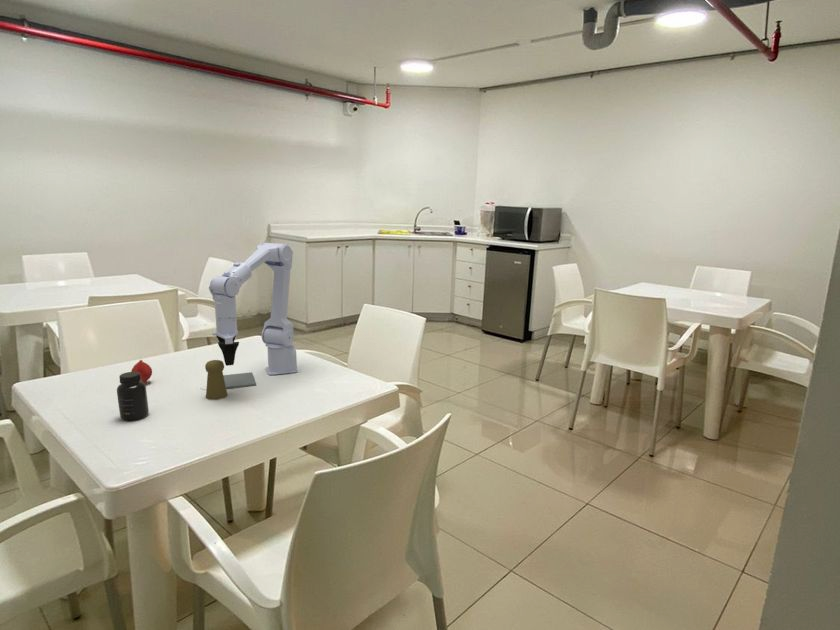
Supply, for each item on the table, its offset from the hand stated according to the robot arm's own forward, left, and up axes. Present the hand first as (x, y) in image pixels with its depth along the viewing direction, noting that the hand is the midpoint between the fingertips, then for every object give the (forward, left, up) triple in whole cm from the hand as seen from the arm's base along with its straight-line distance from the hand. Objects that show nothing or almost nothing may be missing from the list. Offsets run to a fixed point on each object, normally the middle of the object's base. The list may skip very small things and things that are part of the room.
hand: (228, 361), depth 152 cm
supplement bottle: (+25, +8, -11) cm, 28 cm away
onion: (+25, -19, -11) cm, 33 cm away
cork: (+4, 0, -11) cm, 11 cm away
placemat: (-2, -11, -10) cm, 15 cm away
